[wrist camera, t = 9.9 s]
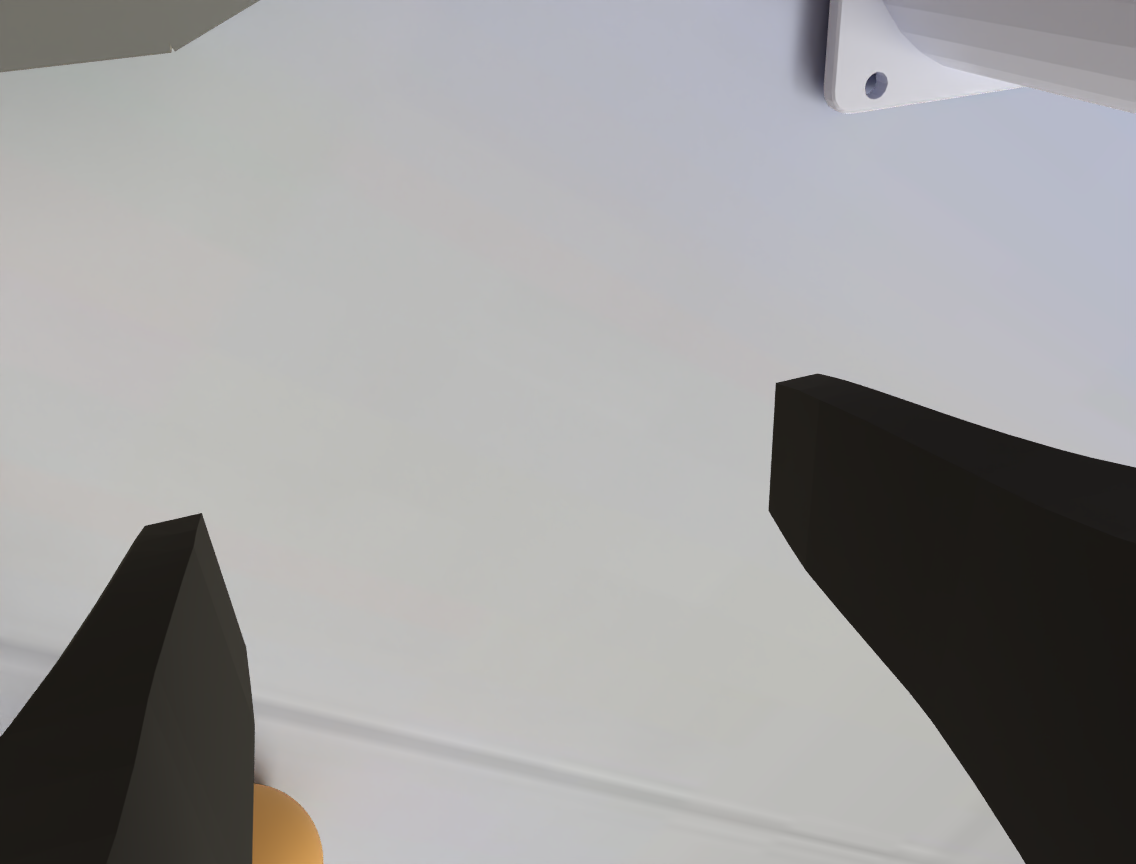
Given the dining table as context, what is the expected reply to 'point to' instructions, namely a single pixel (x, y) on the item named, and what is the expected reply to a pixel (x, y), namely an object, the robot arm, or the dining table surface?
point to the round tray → (102, 28)
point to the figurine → (282, 830)
